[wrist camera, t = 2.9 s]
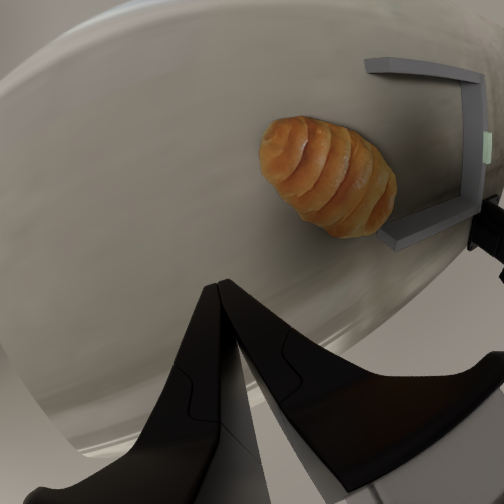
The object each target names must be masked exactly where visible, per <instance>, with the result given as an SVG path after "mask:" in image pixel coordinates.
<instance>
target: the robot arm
mask: <svg viewBox="0 0 504 504" xmlns="http://www.w3.org/2000/svg"><path fill="white" fill-rule="evenodd" d="M498 202H499V196H498V195H494V196H492V197H490V198H488V199H486V200H484V201H482V204H481V210H480V212H479V213H477V214H475V215H474V217H473V223H472V228H471V233H470V237H469V242H468V246H467V250H468V251H472V250H473V249H475V248H476V247H478V246H479V247H480V248H481V249H483V250H484V251H486V252H487V253H488V254H490V255H491V256H492V257H495V258H496V259H497V260H499V261H500V262H501V263H502V264H504V209H502V208H500V207H499V206H498ZM499 278H500V279H501V281H502V282H503V283H504V268H503V270H502V272H501V273H500V275H499ZM236 340H237V341H236ZM237 343H238V344H237ZM238 345H239V347H240V350H241V352H242V354H243V356H244V358H245V360H246V362H247V364H248V366H249V368H250V370H251V372H252V374H253V376H254V378H255V380H256V382H257V383H258V385H259V387H260V389H261V391H262V393H263V395H264V397H265V399H266V401H267V402H268V404H269V406H270V408H271V410H272V412H273V414H274V415H275V417H276V419H277V421H278V423H279V425H280V426H281V428H282V430H283V431H284V434H285V435H286V437H287V439H288V441H289V442H290V444H291V446H292V448H293V449H294V451H295V452H296V454H297V456H298V458H299V460H300V461H301V463H302V464H303V466H304V468H305V470H306V471H307V473H308V475H309V476H310V478H311V479H312V481H313V483H314V485H315V486H316V488H317V489H318V491H319V492H320V494H321V495H322V497H323V499H324V500H325V502H326V504H334V503H337V502H339V501H342V500H344V499H346V502H347V504H504V394H503V392H502V391H501V390H500V386H501V385H502V384H503V383H504V351H492V352H490V353H488V354H487V355H486V356H485V357H483V358H482V359H481V360H480V361H479V362H478V363H477V364H476V365H475V366H473V367H472V368H471V369H469V370H466V371H464V372H462V373H458V374H455V375H446V376H383V375H378V374H375V373H372V372H369V371H367V370H365V369H363V368H361V367H359V366H357V365H355V364H353V363H351V362H349V361H347V360H345V359H343V358H341V357H339V356H337V355H335V354H334V353H332V352H330V351H328V350H326V349H324V348H323V347H321V346H319V345H317V344H316V343H314V342H312V341H311V340H310V339H308V338H307V337H305V336H304V335H302V334H301V333H299V332H298V331H297V330H295V329H294V328H291V326H290V325H289V324H287V323H286V322H285V321H283V320H282V319H281V318H279V317H278V316H277V315H275V314H274V313H273V312H272V311H270V310H269V309H268V308H266V307H265V306H264V305H262V304H261V303H260V302H259V301H257V300H256V299H255V298H253V297H252V296H251V295H250V294H248V293H247V292H246V291H245V290H243V289H242V288H241V287H239V286H238V285H237V284H236V283H234V282H233V281H232V280H231V279H225V280H222V281H219V282H218V283H213V284H210V285H207V286H205V287H204V288H203V291H202V293H201V296H200V298H199V301H198V303H197V305H196V308H195V310H194V313H193V315H192V318H191V320H190V323H189V325H188V328H187V330H186V333H185V335H184V338H183V340H182V343H181V345H180V348H179V350H178V353H177V356H176V358H175V361H174V365H173V366H172V368H171V371H170V373H169V376H168V378H167V381H166V383H165V386H164V388H163V390H162V392H161V394H160V396H159V398H158V400H157V403H156V405H155V406H154V408H153V410H152V412H151V414H150V416H149V418H148V420H147V422H146V424H145V426H144V428H143V430H142V432H141V434H140V435H139V437H138V439H137V441H136V442H135V444H134V445H133V447H132V448H131V449H130V450H129V451H128V452H127V453H126V454H125V455H123V456H122V457H120V458H119V459H118V460H116V461H114V462H113V463H111V464H109V465H108V466H106V467H105V468H103V469H101V470H100V471H98V472H96V473H95V474H93V475H91V476H90V477H88V478H86V479H84V480H82V481H81V482H79V483H77V484H75V485H73V486H71V487H68V488H64V489H51V488H46V487H38V488H36V489H35V490H34V491H32V492H31V493H29V494H28V496H27V497H26V498H25V500H24V502H23V504H271V502H270V497H269V493H268V489H267V485H266V480H265V476H264V472H263V467H262V465H261V464H262V463H261V458H260V454H259V449H258V445H257V440H256V435H255V430H254V426H253V421H252V416H251V411H250V406H249V401H248V396H247V391H246V386H245V380H244V375H243V370H242V364H241V359H240V354H239V349H238Z"/></svg>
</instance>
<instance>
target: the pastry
mask: <svg viewBox="0 0 504 504" xmlns="http://www.w3.org/2000/svg"><path fill="white" fill-rule="evenodd" d="M259 158H260V165H261V172H262V175H263V176H264V177H265V178H266V179H267V180H268V181H269V183H271V184H272V185H273V186H274V187H275V188H276V190H277V192H278V193H279V195H280V197H281V198H282V199H283V200H284V201H285V202H287V203H288V204H289V205H291V206H292V207H293V208H294V209H295V210H296V211H297V213H298V215H299V216H300V218H301V219H302V220H303V221H306V222H309V223H314V224H315V225H317V226H319V227H321V228H323V229H325V230H326V231H327V232H328V234H329V235H331V236H332V237H339V238H341V239H347V238H357V237H360V236H370V235H371V234H373V233H375V232H376V231H377V230H378V229H379V228H380V227H381V226H382V225H383V224H384V222H385V221H386V220H387V218H388V217H389V215H390V214H391V212H392V210H393V206H394V199H395V197H396V194H397V182H396V176H395V174H394V173H393V171H392V170H391V168H390V166H388V165H387V164H386V162H385V160H384V159H383V157H382V155H381V153H380V152H379V150H378V149H377V148H376V147H375V146H374V145H372V144H371V143H369V142H368V141H366V140H365V139H363V138H362V137H361V136H360V135H359V134H358V133H357V132H355V131H353V130H349V129H347V128H345V127H342V126H337V125H334V124H331V123H328V122H323V121H320V120H317V119H312V118H308V117H304V116H296V117H291V118H282V119H278V120H275V121H273V122H271V123H270V124H269V126H268V127H267V129H266V130H265V131H264V133H263V135H262V138H261V142H260V149H259Z"/></svg>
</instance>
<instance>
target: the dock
mask: <svg viewBox="0 0 504 504" xmlns="http://www.w3.org/2000/svg"><path fill="white" fill-rule="evenodd" d="M364 61H365V66H366V72H367V73H396V74H412V75H423V76H433V77H441V78H448V79H454V80H460V83H461V93H462V106H463V166H462V180H461V190H460V196H458V197H456V198H453V199H450V200H448V201H445V202H443V203H440V204H437V205H435V206H432V207H429V208H427V209H424V210H421V211H419V212H416V213H413V214H411V215H408V216H405V217H402V218H400V219H397V220H394V221H392V222H389V223H386V224H383V225H382V226H381V227H380V228H379V229H378V230H377V237H378V238H379V239H380V240H382V241H383V242H384V243H385V244H387V245H388V246H389V247H390V248H392V249H393V250H394V251H395V252H397V251H399V250H401V249H403V248H406V247H408V246H410V245H412V244H415V243H417V242H419V241H421V240H423V239H426V238H428V237H430V236H432V235H434V234H436V233H439V232H441V231H443V230H445V229H447V228H449V227H451V226H453V225H455V224H457V223H459V222H461V221H463V220H465V219H467V218H469V217H471V216H473V215H475V214H477V213H479V212H480V210H481V204H482V198H483V190H484V182H485V172H486V164H490V163H491V150H492V133H491V132H488V119H487V97H486V85H485V75H484V74H481V73H477V72H473V71H470V70H466V69H461V68H457V67H453V66H448V65H443V64H438V63H432V62H426V61H419V60H412V59H403V58H393V57H383V58H372V59H364Z"/></svg>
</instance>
